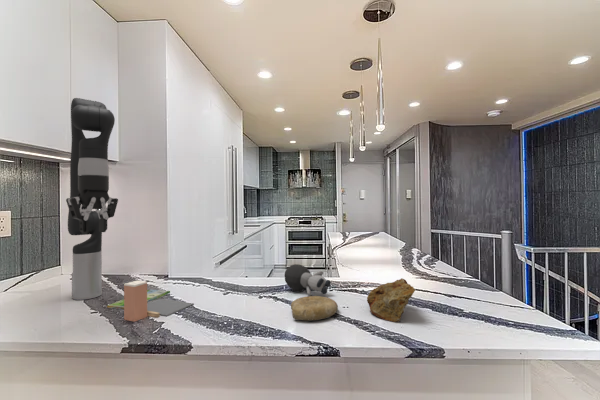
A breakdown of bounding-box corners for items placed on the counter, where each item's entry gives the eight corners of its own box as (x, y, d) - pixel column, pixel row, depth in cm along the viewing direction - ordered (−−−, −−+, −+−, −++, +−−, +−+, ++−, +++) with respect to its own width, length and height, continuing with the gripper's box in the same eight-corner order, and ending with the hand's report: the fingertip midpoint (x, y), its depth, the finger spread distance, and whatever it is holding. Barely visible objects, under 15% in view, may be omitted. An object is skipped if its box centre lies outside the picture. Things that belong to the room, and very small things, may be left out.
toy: (339, 284, 120) (300, 271, 133) (329, 268, 113) (289, 256, 125) (327, 309, 115) (287, 293, 127) (316, 293, 108) (275, 278, 120)
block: (124, 319, 93) (124, 283, 93) (137, 314, 97) (137, 280, 97) (134, 321, 91) (134, 285, 92) (147, 316, 96) (147, 281, 96)
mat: (131, 310, 102) (131, 308, 102) (160, 299, 113) (160, 298, 113) (166, 316, 95) (166, 315, 95) (193, 304, 106) (193, 303, 106)
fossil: (343, 323, 89) (343, 307, 89) (292, 325, 88) (292, 310, 88) (332, 303, 106) (332, 290, 106) (289, 305, 105) (289, 292, 105)
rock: (374, 306, 108) (354, 290, 106) (402, 274, 107) (382, 258, 105) (397, 340, 89) (372, 321, 87) (431, 302, 88) (407, 283, 86)
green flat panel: (106, 309, 105) (130, 311, 102) (106, 305, 105) (130, 307, 102) (149, 292, 124) (170, 294, 122) (149, 289, 124) (170, 290, 122)
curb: (130, 312, 99) (130, 309, 99) (132, 311, 100) (132, 308, 100) (157, 317, 94) (157, 313, 94) (159, 316, 95) (159, 312, 95)
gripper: (108, 177, 97) (108, 230, 97) (58, 173, 84) (58, 235, 84) (124, 176, 94) (125, 231, 94) (75, 171, 81) (75, 235, 81)
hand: (93, 232), depth 89 cm, fingers open, 4 cm apart
